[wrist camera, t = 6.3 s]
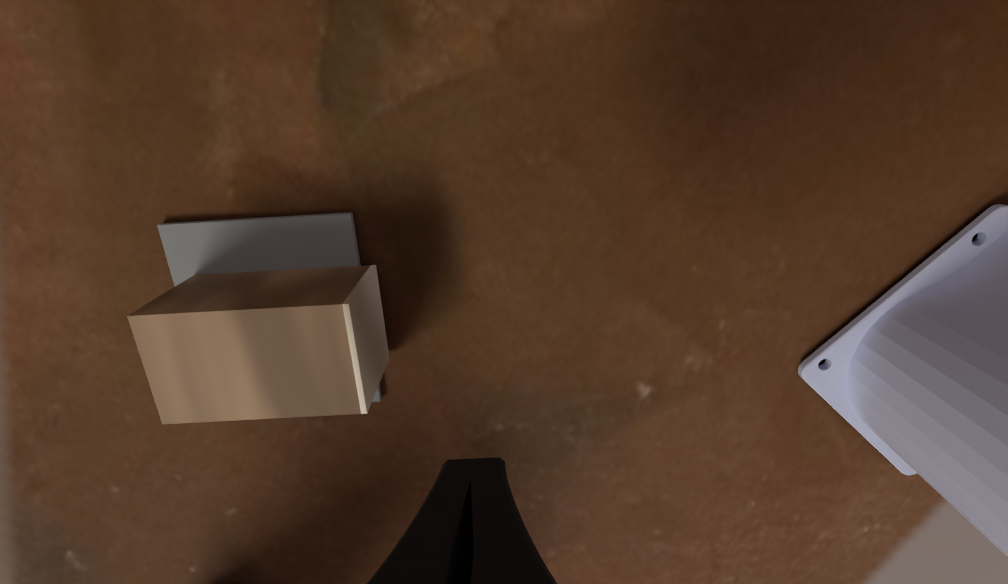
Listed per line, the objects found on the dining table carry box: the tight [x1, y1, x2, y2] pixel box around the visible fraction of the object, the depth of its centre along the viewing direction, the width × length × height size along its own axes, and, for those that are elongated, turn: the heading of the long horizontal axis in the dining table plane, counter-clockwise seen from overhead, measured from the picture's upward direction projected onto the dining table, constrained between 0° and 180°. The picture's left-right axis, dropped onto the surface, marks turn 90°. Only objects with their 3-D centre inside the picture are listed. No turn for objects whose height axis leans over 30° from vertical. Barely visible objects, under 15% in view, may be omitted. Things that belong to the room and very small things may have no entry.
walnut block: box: [127, 265, 390, 424], centre depth 20 cm, size 4×4×7 cm
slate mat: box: [157, 212, 382, 402], centre depth 22 cm, size 7×8×1 cm
